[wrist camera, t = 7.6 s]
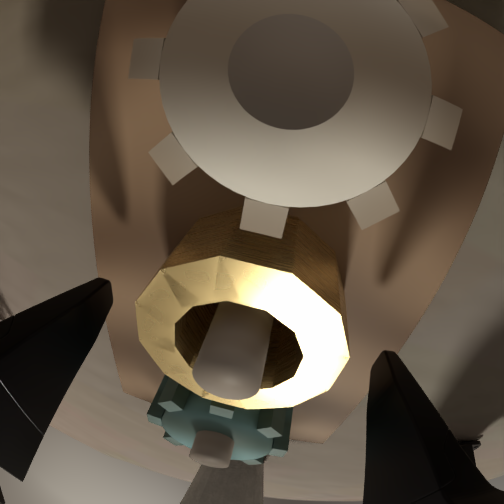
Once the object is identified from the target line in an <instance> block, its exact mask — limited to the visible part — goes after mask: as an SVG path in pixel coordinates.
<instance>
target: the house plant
mask: <svg viewBox="0 0 504 504" xmlns="http://www.w3.org/2000/svg"><path fill="white" fill-rule="evenodd" d="M180 504H263V464H255V465H248V464H246V463H244V462H243V461H241V460H230V464H229V466H228V467H227V468H214V467H209V466H205V465H201V467H200V468H199V470H198V472H197V474H196V476H195V478H194V479H193V481H192V483H191V485H190V487H189V489H188V490H187V492H186V494H185V496H184V498H183V499H182V501H181V503H180Z"/></svg>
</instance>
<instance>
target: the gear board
mask: <svg viewBox="0 0 504 504" xmlns="http://www.w3.org/2000/svg"><path fill="white" fill-rule="evenodd" d="M503 134H504V34H502V33H501V32H499V31H498V30H496V29H495V28H493V27H492V26H490V25H489V24H487V23H485V22H484V21H482V20H481V19H479V18H477V17H475V16H474V15H472V14H470V13H469V12H467V11H465V10H463V9H461V8H459V7H458V6H456V5H454V4H452V3H450V2H448V1H446V0H105V4H104V9H103V14H102V19H101V24H100V30H99V36H98V42H97V49H96V57H95V65H94V74H93V84H92V96H91V111H90V140H89V168H90V197H91V213H92V225H93V236H94V246H95V254H96V262H97V270H98V277H101V278H104V279H107V280H109V281H110V282H111V285H112V292H113V305H112V307H111V309H110V311H109V313H108V316H107V318H106V323H107V328H108V332H109V337H110V341H111V346H112V350H113V354H114V358H115V362H116V366H117V370H118V374H119V377H120V381H121V385H122V388H123V391H124V392H125V393H127V394H130V395H132V396H135V397H137V398H140V399H143V400H145V401H148V402H151V406H150V408H149V410H148V412H147V417H148V421H149V422H151V423H154V424H156V425H159V426H163V428H164V429H165V434H164V437H163V438H164V439H166V440H167V441H169V442H170V443H172V444H174V445H185V446H187V447H189V448H191V451H190V454H189V456H190V458H191V459H192V460H194V461H196V462H198V463H200V464H202V465H205V466H209V467H214V468H227V467H228V466H229V464H230V460H241V461H243V462H244V463H246V464H248V465H255V464H263V460H264V456H266V455H267V454H268V455H273V456H279V457H283V456H284V455H285V454H286V452H287V451H288V445H289V439H292V440H298V441H305V442H312V443H320V444H323V443H324V442H325V441H326V440H327V439H328V438H329V436H330V435H331V434H332V433H333V432H334V431H335V430H336V429H337V428H338V427H339V426H340V425H341V424H342V422H343V421H344V420H345V419H346V418H347V417H348V416H349V414H350V413H351V412H352V411H353V410H354V409H355V408H356V406H357V405H358V404H359V403H360V402H361V400H362V399H363V398H364V397H365V396H366V394H367V393H368V392H369V382H370V371H371V367H372V365H373V364H374V362H375V361H376V359H377V358H378V356H379V355H380V353H381V352H382V351H383V350H389V351H394V352H396V354H398V352H399V351H400V349H401V348H402V346H403V345H404V343H405V342H406V341H407V339H408V338H409V336H410V335H411V333H412V332H413V330H414V328H415V327H416V325H417V324H418V322H419V321H420V319H421V317H422V316H423V314H424V313H425V311H426V309H427V308H428V306H429V304H430V303H431V301H432V299H433V298H434V296H435V294H436V292H437V291H438V289H439V287H440V285H441V284H442V282H443V280H444V278H445V276H446V275H447V273H448V271H449V269H450V267H451V265H452V263H453V261H454V259H455V257H456V255H457V253H458V251H459V249H460V247H461V245H462V243H463V241H464V239H465V237H466V234H467V232H468V230H469V228H470V226H471V223H472V221H473V219H474V216H475V214H476V212H477V209H478V207H479V204H480V202H481V199H482V197H483V194H484V192H485V189H486V186H487V184H488V181H489V178H490V175H491V172H492V169H493V166H494V163H495V160H496V157H497V154H498V151H499V148H500V144H501V141H502V137H503ZM240 206H244V207H243V212H242V218H241V223H240V229H243V230H247V231H251V232H255V233H259V234H264V235H268V236H272V237H276V238H280V239H281V238H282V234H283V230H284V226H285V222H286V218H287V215H291V216H295V217H299V218H300V219H301V220H302V221H303V222H304V223H305V224H306V225H307V226H308V227H309V228H311V229H312V230H313V231H314V232H315V233H316V234H317V235H318V236H319V237H320V238H321V239H322V240H323V241H325V242H326V243H327V244H328V245H329V246H330V247H331V248H332V249H333V250H334V251H335V254H336V258H337V263H338V267H339V271H340V275H341V280H342V284H343V289H344V294H345V303H346V313H347V324H348V336H349V350H350V358H349V359H348V361H347V363H346V364H345V366H344V368H343V369H342V371H341V372H340V374H339V375H338V377H337V378H336V380H335V381H334V383H333V385H332V386H331V388H330V389H329V390H327V391H325V392H323V393H321V394H319V395H317V396H315V397H312V398H310V399H308V400H306V401H304V402H302V403H299V404H297V405H295V406H292V407H283V408H265V409H244V408H240V407H236V406H232V405H228V404H224V403H220V402H217V401H213V400H209V399H206V398H202V397H201V396H199V395H197V394H196V393H194V392H192V391H191V390H189V389H187V388H186V387H184V386H183V385H181V384H179V383H178V382H176V381H175V380H173V379H172V378H170V377H169V376H167V375H166V374H164V373H163V371H162V370H161V369H160V368H159V366H158V365H157V364H156V362H155V361H154V360H153V358H152V357H151V356H150V354H149V353H148V352H147V350H146V349H145V348H144V346H143V345H142V344H141V342H140V341H139V335H138V327H137V318H136V308H135V302H136V300H137V299H138V297H139V296H140V295H141V293H142V292H143V290H144V289H145V288H146V286H147V285H148V283H149V282H150V281H151V279H152V278H153V277H154V275H155V274H156V273H157V271H158V270H159V268H160V267H161V266H162V264H163V263H164V262H165V260H166V259H167V258H168V256H169V255H170V254H171V252H172V251H173V250H174V249H175V248H176V246H177V245H178V244H179V243H180V242H181V240H182V239H183V238H184V237H185V235H186V234H187V233H188V232H189V231H190V229H191V228H192V227H193V226H194V224H195V223H196V222H197V221H198V219H199V218H202V217H205V216H209V215H212V214H216V213H219V212H223V211H226V210H230V209H233V208H237V207H240ZM213 305H214V307H215V308H217V310H216V312H215V315H214V317H213V320H212V322H211V325H210V327H209V329H208V332H207V334H206V337H205V339H204V342H203V344H202V347H201V349H200V352H199V354H198V357H197V359H196V362H195V364H194V367H193V369H192V375H193V378H194V380H195V381H196V383H197V384H198V385H199V386H200V387H201V388H203V389H204V390H205V391H207V392H209V393H211V394H213V395H215V396H218V397H221V398H225V399H230V400H243V399H248V398H251V397H253V396H255V395H256V394H257V393H258V392H259V390H260V387H261V382H262V377H263V372H264V367H265V361H266V356H267V351H268V346H269V340H270V335H271V330H272V325H277V324H283V323H282V322H281V321H280V320H278V319H277V318H276V317H274V316H273V315H272V314H270V313H269V312H268V311H266V310H262V309H258V308H254V307H250V306H246V305H242V304H238V303H234V302H230V301H222V302H216V303H213Z"/></svg>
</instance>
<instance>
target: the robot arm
mask: <svg viewBox="0 0 504 504" xmlns="http://www.w3.org/2000/svg"><path fill="white" fill-rule="evenodd" d="M112 305H113V292H112V285H111V282H110V281H109V280H107V279H104V278H101V277H99V278H96V279H94V280H91V281H89V282H87V283H85V284H82V285H80V286H78V287H75V288H73V289H71V290H69V291H66V292H64V293H62V294H60V295H57V296H55V297H53V298H51V299H48V300H46V301H44V302H42V303H40V304H37V305H35V306H33V307H31V308H29V309H26V310H24V311H22V312H20V313H18V314H16V315H15V316H11V317H9V318H7V319H5V320H3V321H0V467H1V468H3V469H4V470H6V471H7V472H8V473H10V474H11V475H13V476H14V477H16V478H18V479H19V480H20V481H22V482H23V480H24V478H25V476H26V474H27V471H28V469H29V467H30V465H31V462H32V460H33V458H34V456H35V454H36V451H37V449H38V447H39V445H40V443H41V441H42V439H43V437H44V436H43V435H44V434H45V432H46V430H47V428H48V426H49V424H50V422H51V420H52V418H53V416H54V414H55V413H56V411H57V409H58V407H59V405H60V403H61V401H62V399H63V397H64V395H65V394H66V392H67V390H68V388H69V386H70V384H71V383H72V381H73V379H74V377H75V376H76V374H77V372H78V370H79V368H80V367H81V365H82V363H83V362H84V360H85V358H86V356H87V355H88V353H89V351H90V350H91V348H92V346H93V344H94V343H95V341H96V339H97V337H98V335H99V333H100V330H101V328H102V326H103V324H104V322H105V320H106V318H107V316H108V313H109V311H110V309H111V307H112ZM448 429H449V428H448V426H447V425H446V423H445V422H444V420H443V419H442V417H441V416H440V414H439V413H438V411H437V410H436V409H435V407H434V406H433V404H432V403H431V401H430V400H429V398H428V397H427V395H426V394H425V393H424V391H423V390H422V388H421V387H420V385H419V384H418V383H417V381H416V380H415V378H414V377H413V376H412V374H411V373H410V371H409V370H408V369H407V367H406V366H405V365H404V363H403V362H402V360H401V359H400V358H399V356H398V355H397V354H396V352H394V351H389V350H383V351H382V352H381V353H380V355H379V356H378V358H377V359H376V361H375V362H374V364H373V365H372V367H371V371H370V382H369V393H368V403H367V425H366V464H365V482H364V496H363V504H504V491H501V490H499V489H497V488H495V487H493V486H492V485H491V484H490V483H489V482H488V481H487V480H486V479H485V477H484V476H483V475H482V473H481V472H480V471H479V470H478V468H477V467H476V463H475V457H474V452H473V451H474V450H475V449H477V448H478V447H479V446H480V445H481V443H480V441H472V442H461V443H458V441H457V440H456V438H455V437H454V435H453V434H452V432H451V431H450V430H448ZM0 504H5V501H4V497H3V494H2V491H1V487H0Z"/></svg>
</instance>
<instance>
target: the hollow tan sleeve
mask: <svg viewBox="0 0 504 504" xmlns="http://www.w3.org/2000/svg"><path fill="white" fill-rule="evenodd" d="M243 207H244V206H240V207H237V208H233V209H230V210H226V211H223V212H219V213H216V214H212V215H209V216H205V217H202V218H199V219H198V221H197V222H196V223H195V224H194V226H193V227H192V228H191V229H190V231H189V232H188V233H187V234H186V235H185V237H184V238H183V239H182V240H181V242H180V243H179V244H178V245H177V246H176V248H175V249H174V250H173V251H172V252H171V254H170V255H169V256H168V258H167V259H166V260H165V262H164V263H163V264H162V266H161V267H160V268H159V270H158V271H157V273H156V274H155V275H154V277H153V278H152V279H151V281H150V282H149V283H148V285H147V286H146V288H145V289H144V290H143V292H142V293H141V295H140V296H139V297H138V299H137V300H136V302H135V308H136V318H137V327H138V335H139V341H140V342H141V344H142V345H143V346H144V348H145V349H146V350H147V352H148V353H149V354H150V356H151V357H152V358H153V360H154V361H155V362H156V364H157V365H158V366H159V368H160V369H161V370H162V371H163V373H164V374H166V375H167V376H169V377H170V378H172V379H173V380H175V381H176V382H178V383H179V384H181V385H183V386H184V387H186V388H187V389H189V390H191V391H192V392H194V393H196V394H197V395H199V396H201V397H202V398H206V399H209V400H213V401H217V402H220V403H224V404H228V405H232V406H236V407H240V408H244V409H265V408H283V407H292V406H295V405H297V404H299V403H302V402H304V401H306V400H308V399H310V398H312V397H315V396H317V395H319V394H321V393H323V392H325V391H327V390H329V389H330V388H331V386H332V385H333V383H334V381H335V380H336V378H337V377H338V375H339V374H340V372H341V371H342V369H343V368H344V366H345V364H346V363H347V361H348V359H349V358H350V350H349V336H348V324H347V313H346V303H345V294H344V289H343V284H342V280H341V275H340V271H339V267H338V263H337V258H336V254H335V251H334V250H333V249H332V248H331V247H330V246H329V245H328V244H327V243H326V242H325V241H323V240H322V239H321V238H320V237H319V236H318V235H317V234H316V233H315V232H314V231H313V230H312V229H311V228H309V227H308V226H307V225H306V224H305V223H304V222H303V221H302V220H301V219H300V218H299V217H295V216H291V215H287V218H286V222H285V226H284V230H283V234H282V238H281V239H280V238H276V237H272V236H268V235H264V234H259V233H255V232H251V231H247V230H243V229H240V223H241V218H242V212H243ZM222 301H230V302H234V303H238V304H242V305H246V306H250V307H254V308H258V309H262V310H266V311H268V312H269V313H270V314H272V315H273V316H274V317H276V318H277V319H278V320H280V321H281V322H282V323H283V324H277V325H272V330H271V335H270V340H269V346H268V351H267V356H266V361H265V367H264V372H263V377H262V382H261V387H260V390H259V392H258V393H257V394H256V395H255V396H253V397H251V398H248V399H243V400H230V399H225V398H221V397H218V396H215V395H213V394H211V393H209V392H207V391H205V390H204V389H203V388H201V387H200V386H199V385H198V384H197V383H196V381H195V380H194V378H193V375H192V369H193V367H194V364H195V362H196V359H197V357H198V354H199V352H200V349H201V347H202V344H203V342H204V339H205V337H206V334H207V332H208V329H209V327H210V325H211V322H212V320H213V317H214V315H215V312H216V310H217V308H215V307H214V305H213V303H216V302H222Z"/></svg>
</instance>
